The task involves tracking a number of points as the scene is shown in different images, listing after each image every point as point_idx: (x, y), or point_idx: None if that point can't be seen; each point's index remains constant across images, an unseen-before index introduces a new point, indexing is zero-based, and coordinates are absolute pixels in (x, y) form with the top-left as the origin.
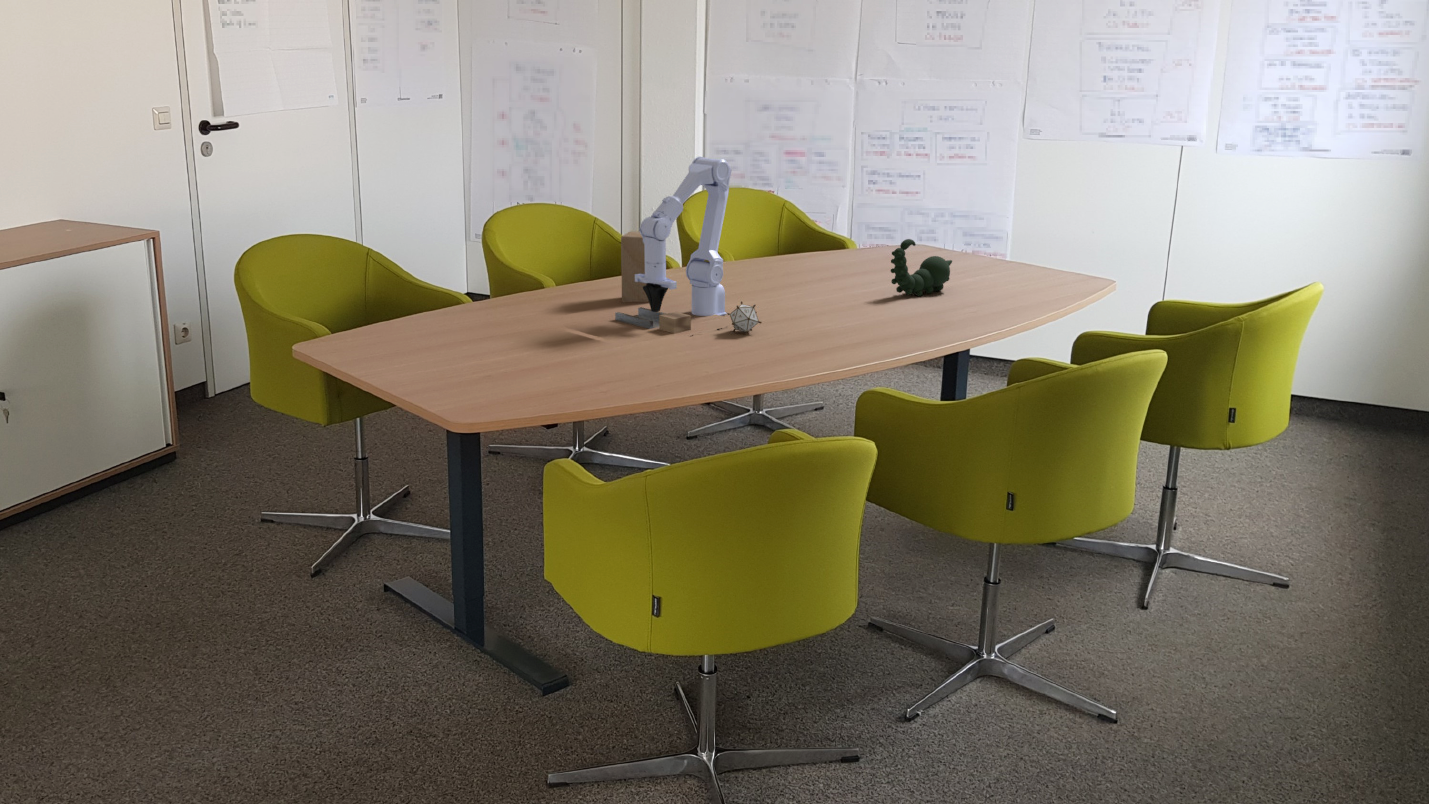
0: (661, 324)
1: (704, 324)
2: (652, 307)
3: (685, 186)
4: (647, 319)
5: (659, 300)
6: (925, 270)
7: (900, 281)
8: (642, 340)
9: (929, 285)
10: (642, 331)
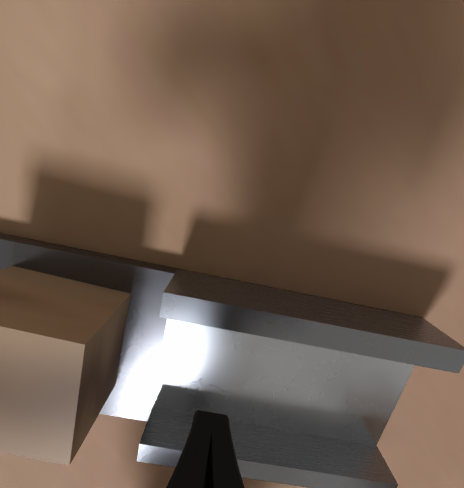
0: (97, 305)
1: (79, 475)
2: (208, 438)
3: None
4: (208, 325)
5: None
6: None
7: None
8: (87, 88)
9: None
10: (213, 255)
